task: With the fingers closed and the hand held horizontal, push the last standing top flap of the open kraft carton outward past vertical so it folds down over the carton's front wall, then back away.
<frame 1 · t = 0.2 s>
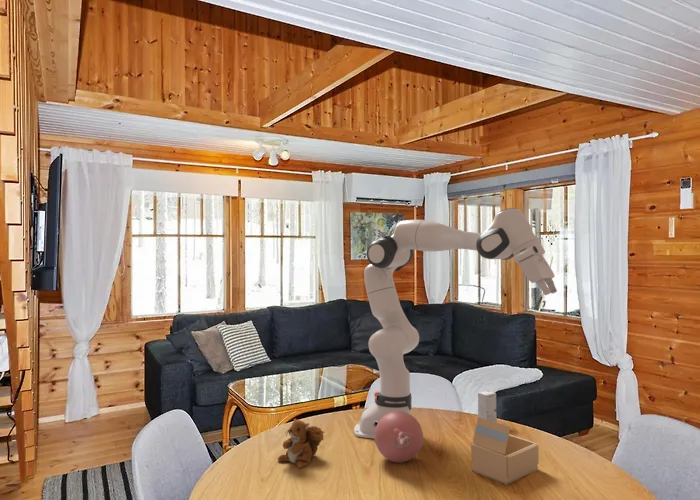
hand: (551, 293, 154), 53 cm above the table, tool tilted 30°, fingers open, 8 cm apart
stuffed squirrel: (302, 460, 162), on the table
skincare box: (487, 424, 194), on the table
balloon: (399, 464, 158), on the table
front flap: (491, 435, 148), point 12 cm above the table, hinge at 70.0°
carton: (505, 470, 152), on the table
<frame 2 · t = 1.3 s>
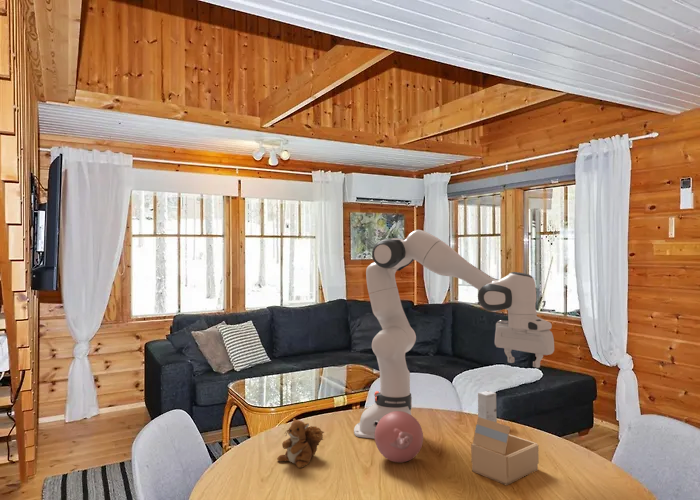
hand: (523, 364, 163), 30 cm above the table, tool pointing down, fingers open, 8 cm apart
nothing on the table moved.
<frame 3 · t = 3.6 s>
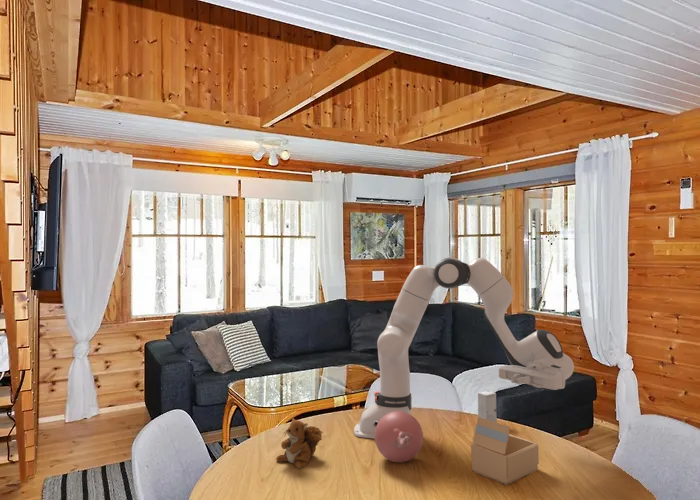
hand: (515, 380, 156), 26 cm above the table, tool horizontal, fingers closed
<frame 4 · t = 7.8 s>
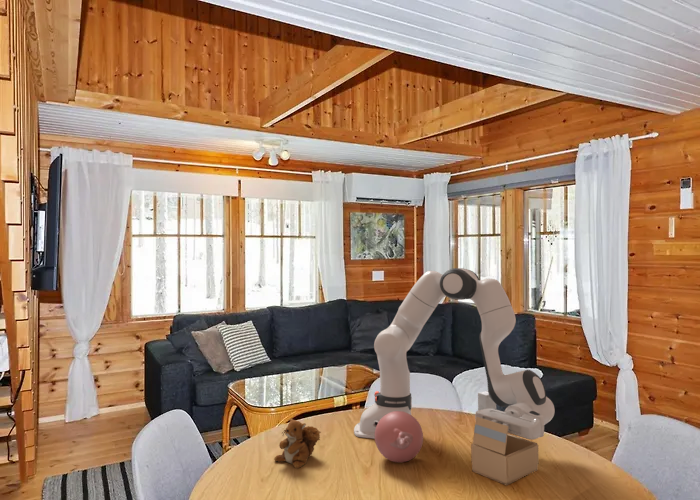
hand: (491, 428, 148), 14 cm above the table, tool horizontal, fingers closed, pressing on front flap
front flap: (490, 435, 148), point 12 cm above the table, hinge at 76.7°, touching gripper
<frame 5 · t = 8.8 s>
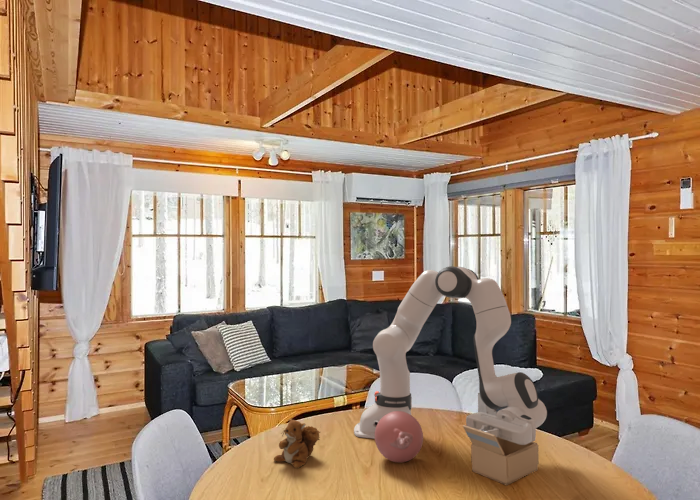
hand: (482, 434, 145), 13 cm above the table, tool horizontal, fingers closed, pressing on front flap
front flap: (483, 439, 146), point 12 cm above the table, hinge at 125.1°, touching gripper
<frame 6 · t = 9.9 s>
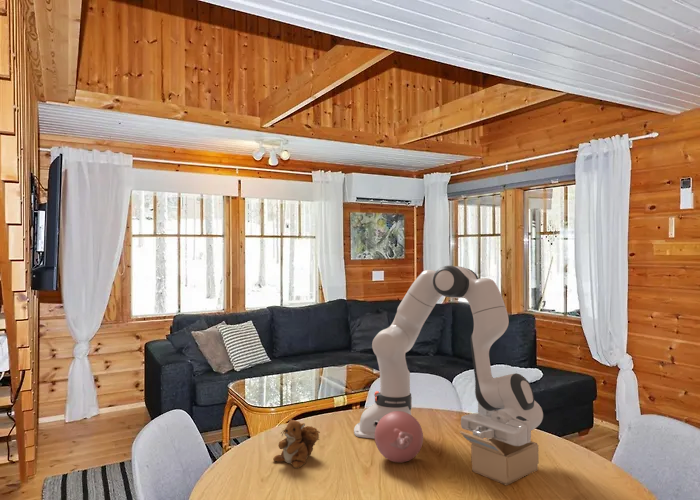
hand: (476, 434, 144), 14 cm above the table, tool horizontal, fingers closed, pressing on front flap
front flap: (481, 443, 145), point 11 cm above the table, hinge at 140.3°, touching gripper
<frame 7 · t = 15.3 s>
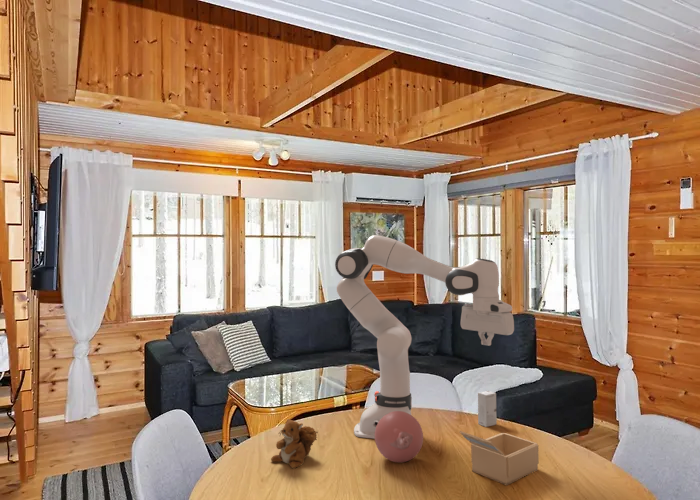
hand: (486, 344, 174), 34 cm above the table, tool pointing down, fingers closed
front flap: (481, 443, 145), point 11 cm above the table, hinge at 140.4°
at the end: front flap at +140° (first picture: +70°) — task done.
